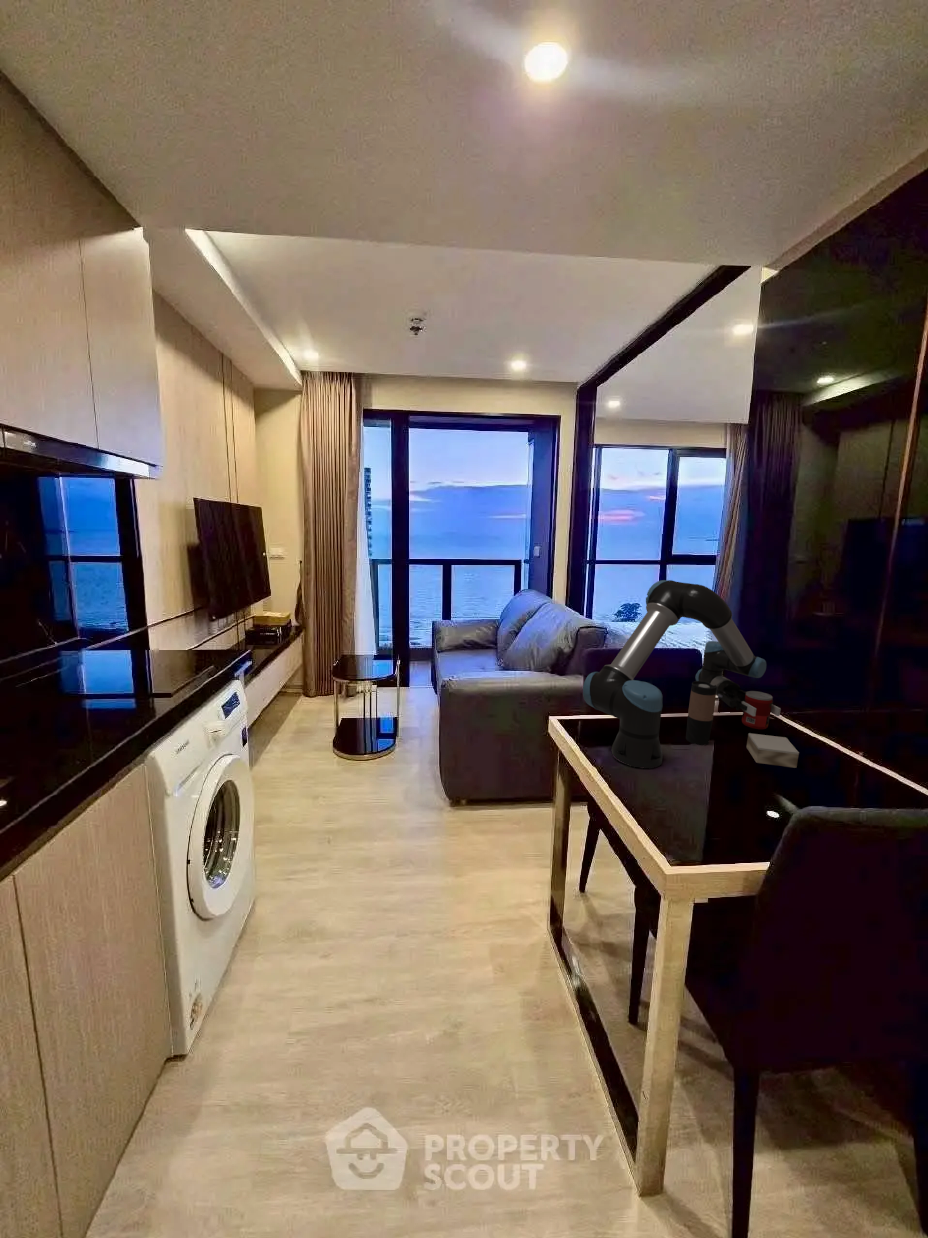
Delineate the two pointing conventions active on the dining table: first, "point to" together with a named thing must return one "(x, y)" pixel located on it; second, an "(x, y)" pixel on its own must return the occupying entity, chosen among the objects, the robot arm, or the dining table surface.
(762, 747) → the birch plinth
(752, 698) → the canned food
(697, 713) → the travel mug
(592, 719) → the dining table surface
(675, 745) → the dining table surface
